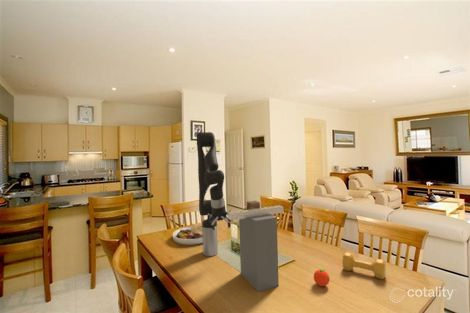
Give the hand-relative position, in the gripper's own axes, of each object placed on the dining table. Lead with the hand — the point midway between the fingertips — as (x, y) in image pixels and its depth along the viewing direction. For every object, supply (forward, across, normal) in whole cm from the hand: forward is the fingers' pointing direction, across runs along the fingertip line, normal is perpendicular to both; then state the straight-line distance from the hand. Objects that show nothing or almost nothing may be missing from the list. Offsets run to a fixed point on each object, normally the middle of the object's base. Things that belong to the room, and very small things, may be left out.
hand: (221, 228), depth 140 cm
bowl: (+29, +23, -30) cm, 48 cm away
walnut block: (-17, -18, +13) cm, 28 cm away
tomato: (+12, -44, +36) cm, 59 cm away
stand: (+12, -16, +28) cm, 35 cm away
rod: (-19, -19, +20) cm, 34 cm away
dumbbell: (+17, -69, +29) cm, 77 cm away
